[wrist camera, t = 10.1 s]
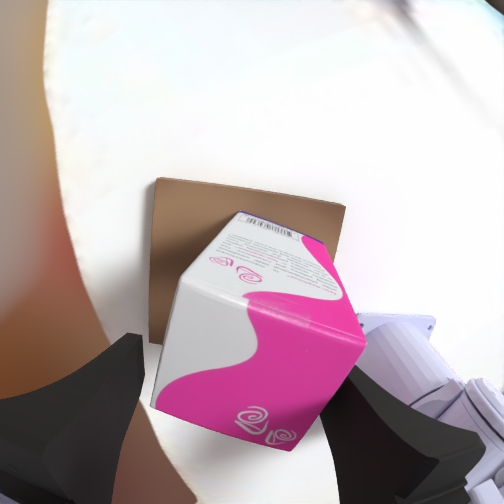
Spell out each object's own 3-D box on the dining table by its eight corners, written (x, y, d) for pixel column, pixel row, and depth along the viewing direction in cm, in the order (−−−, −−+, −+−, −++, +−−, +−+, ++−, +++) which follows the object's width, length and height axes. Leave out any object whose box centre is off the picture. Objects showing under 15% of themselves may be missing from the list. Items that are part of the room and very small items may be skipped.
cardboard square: (301, 347, 25) (305, 361, 23) (155, 328, 24) (149, 342, 22) (336, 201, 21) (345, 206, 19) (164, 176, 20) (156, 178, 18)
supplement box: (210, 291, 21) (141, 408, 10) (239, 208, 19) (177, 262, 8) (291, 322, 21) (291, 458, 10) (327, 242, 19) (377, 336, 8)
